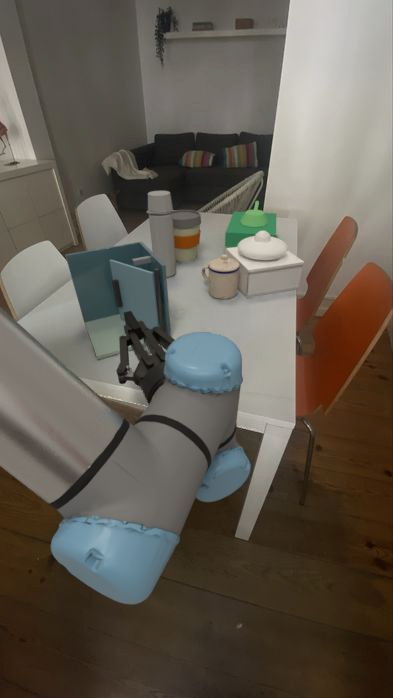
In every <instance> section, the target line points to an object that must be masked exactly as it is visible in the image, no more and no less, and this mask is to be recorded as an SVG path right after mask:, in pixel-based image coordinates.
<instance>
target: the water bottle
mask: <svg viewBox="0 0 393 698" xmlns="http://www.w3.org/2000/svg"><path fill="white" fill-rule="evenodd" d="M171 211H174V208H173V201H172V194H171V192H170V191H168V190H153V191H152V190H151V191H149V192H147V210H146V211H145V212H146V213H147V214H148V222H149V231H150V240H151V248H152V250H151V251H152V252H153V253H154V254H155V255H156V256H157V257H158V258H159V259H160V260H161V261H162V262H163V263H164V264H165V266H166V278H167V279H168V278H171V277H173V276H175V274H176V272H177V264H176V260H175V246H174V230H173V214H172V212H171Z"/></svg>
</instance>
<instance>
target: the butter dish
mask: <svg viewBox="0 0 393 698" xmlns="http://www.w3.org/2000/svg"><path fill="white" fill-rule="evenodd" d="M224 254H226V255H227V256H228V258H230V259H234V260H236V261H237V262H238V263H239V265H240V268H239V274H238V289H237V290H238V291H239V292H240V293H241V294H242V295H243V297H244V298H253V297H259V296H264V295H270V294H275V293H283V292H288V291H294V290H299V288H300V282H301V277H302V272H303V268H304V265H305V261H304V260H302V259H301V258H299V257H298V256H296V255H295V254H294V253H292V252H291V251H289V246H288V245H287V243H286V242H285V241H284V240H281V239H280V238H277V237H276V238H275V237H271V236H270V234H269V233H268V232H266V231H259V232H258V233H257V234H256V235H255V236H252V237H248V238H245V239H243V240H241V241H240V242H239V243H238V246H237V247H232V248H225V250H224Z"/></svg>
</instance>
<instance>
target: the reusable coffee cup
mask: <svg viewBox="0 0 393 698" xmlns="http://www.w3.org/2000/svg"><path fill="white" fill-rule="evenodd" d="M171 212H172V214H173V230H174V246H175V261H178V262H190V261H194V260H195V259H197V256H198V246H199V245H200V239H201V224H202V218H201V217H202V216H201V213H200V212H199V211H196V210H193V209H175V210H172V211H171Z"/></svg>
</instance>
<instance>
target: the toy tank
mask: <svg viewBox="0 0 393 698" xmlns="http://www.w3.org/2000/svg"><path fill="white" fill-rule="evenodd" d="M259 204H260V201H259V200H255V202H254V208H253V209H247V210H246V211H233V213H232V216H231V217H230V220H229V223H228V225H227V227H226V230H225V235H224V236H225V237H224V238H225V239H224V247H226V248H232V247H237V246H238V243H239V242H240V241H241V240H243V239H245V238H248V237H252V236H255V235H256V234H257V233H258V232H259V231H266V232H268V233H269V234H270V236H271V237H275V238H277V213H274V212H264V211H263V210H261V209H259V207H260V206H259ZM226 248H225V249H226Z"/></svg>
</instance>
